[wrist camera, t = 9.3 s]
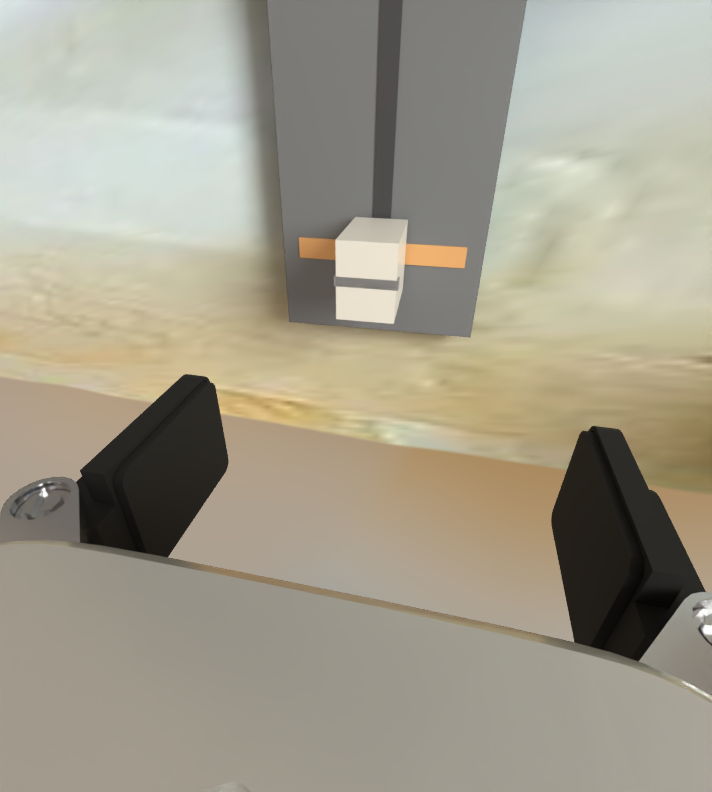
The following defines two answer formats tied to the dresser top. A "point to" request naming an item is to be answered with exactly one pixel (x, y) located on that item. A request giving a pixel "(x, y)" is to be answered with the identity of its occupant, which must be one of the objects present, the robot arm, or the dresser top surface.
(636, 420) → the dresser top surface
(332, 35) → the fader board
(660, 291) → the dresser top surface
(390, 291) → the fader tab
